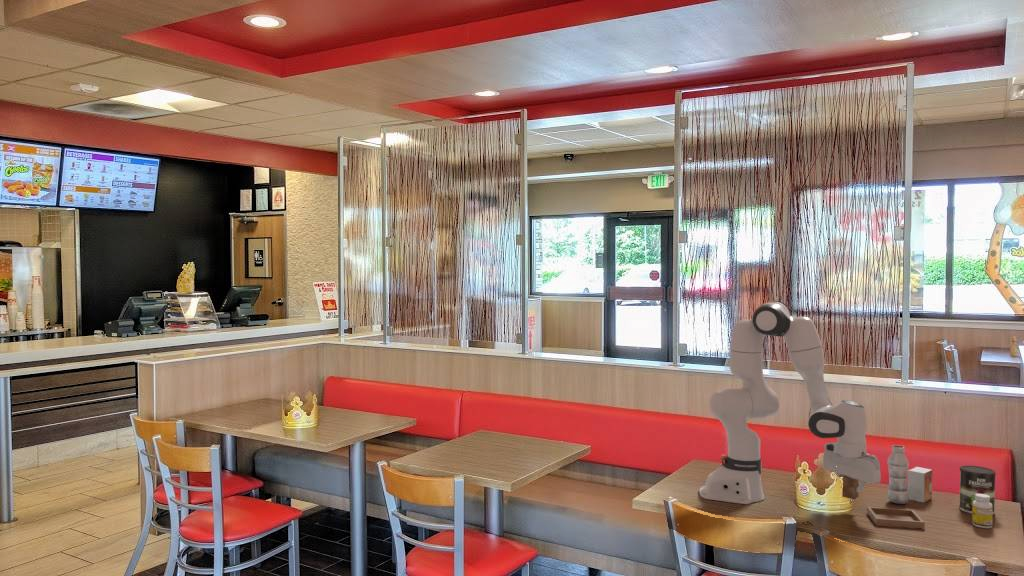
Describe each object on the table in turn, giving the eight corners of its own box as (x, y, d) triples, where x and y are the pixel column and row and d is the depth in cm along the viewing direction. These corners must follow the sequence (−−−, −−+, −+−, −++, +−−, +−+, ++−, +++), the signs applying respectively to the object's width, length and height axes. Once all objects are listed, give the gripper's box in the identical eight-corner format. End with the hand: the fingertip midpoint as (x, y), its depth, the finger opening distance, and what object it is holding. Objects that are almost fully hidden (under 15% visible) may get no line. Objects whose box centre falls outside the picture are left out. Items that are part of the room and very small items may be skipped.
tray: (876, 525, 232) (876, 518, 232) (867, 513, 244) (867, 506, 244) (924, 529, 229) (924, 522, 229) (912, 516, 240) (913, 510, 240)
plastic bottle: (911, 506, 250) (912, 449, 250) (890, 505, 252) (891, 448, 251) (905, 500, 257) (906, 444, 256) (884, 499, 258) (885, 443, 258)
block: (842, 496, 245) (842, 476, 245) (846, 494, 248) (846, 473, 248) (854, 499, 242) (855, 478, 242) (858, 496, 245) (859, 476, 245)
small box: (924, 503, 254) (924, 473, 254) (906, 499, 258) (907, 470, 258) (932, 498, 260) (933, 469, 259) (915, 494, 264) (916, 466, 264)
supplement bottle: (973, 521, 236) (973, 491, 236) (993, 525, 233) (993, 495, 232) (970, 526, 232) (971, 495, 232) (991, 530, 228) (991, 499, 228)
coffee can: (998, 517, 240) (999, 474, 240) (962, 513, 244) (963, 471, 243) (990, 507, 250) (991, 466, 249) (955, 504, 253) (956, 464, 253)
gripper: (885, 455, 237) (884, 497, 237) (832, 441, 255) (831, 480, 256) (872, 458, 234) (871, 500, 234) (820, 443, 252) (819, 482, 253)
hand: (850, 489), depth 245 cm, fingers closed on block, 5 cm apart
